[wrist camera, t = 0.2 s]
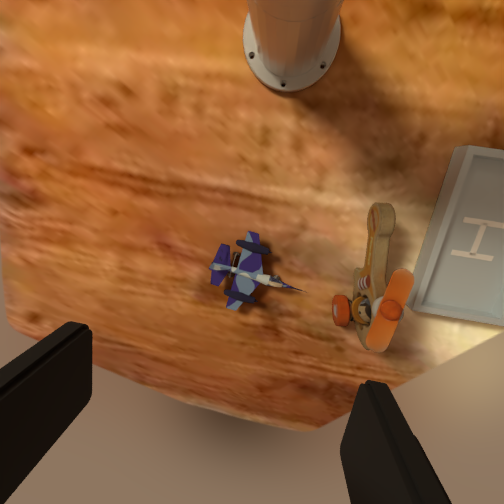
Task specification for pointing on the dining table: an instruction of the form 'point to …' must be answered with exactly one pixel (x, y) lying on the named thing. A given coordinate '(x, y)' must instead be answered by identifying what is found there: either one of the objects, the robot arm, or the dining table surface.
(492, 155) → the tray
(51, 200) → the dining table surface
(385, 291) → the toy helicopter
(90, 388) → the robot arm
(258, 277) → the toy airplane
